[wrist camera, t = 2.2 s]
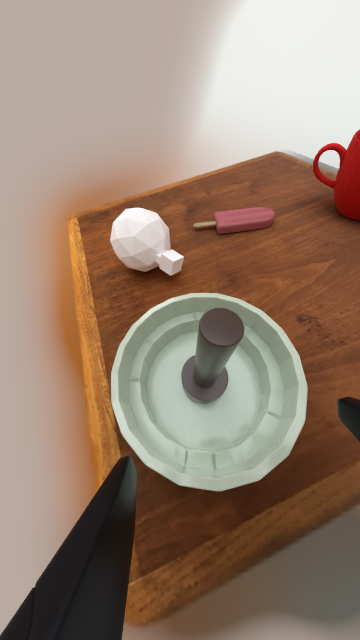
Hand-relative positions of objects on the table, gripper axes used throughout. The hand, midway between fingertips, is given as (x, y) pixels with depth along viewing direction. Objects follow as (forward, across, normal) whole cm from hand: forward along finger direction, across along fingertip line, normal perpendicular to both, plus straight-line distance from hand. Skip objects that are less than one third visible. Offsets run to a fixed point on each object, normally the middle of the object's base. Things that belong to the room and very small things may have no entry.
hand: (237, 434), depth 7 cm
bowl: (+12, 0, +4) cm, 12 cm away
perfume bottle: (+26, +3, -9) cm, 28 cm away
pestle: (+11, 0, +4) cm, 12 cm away
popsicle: (+31, -14, -14) cm, 37 cm away
